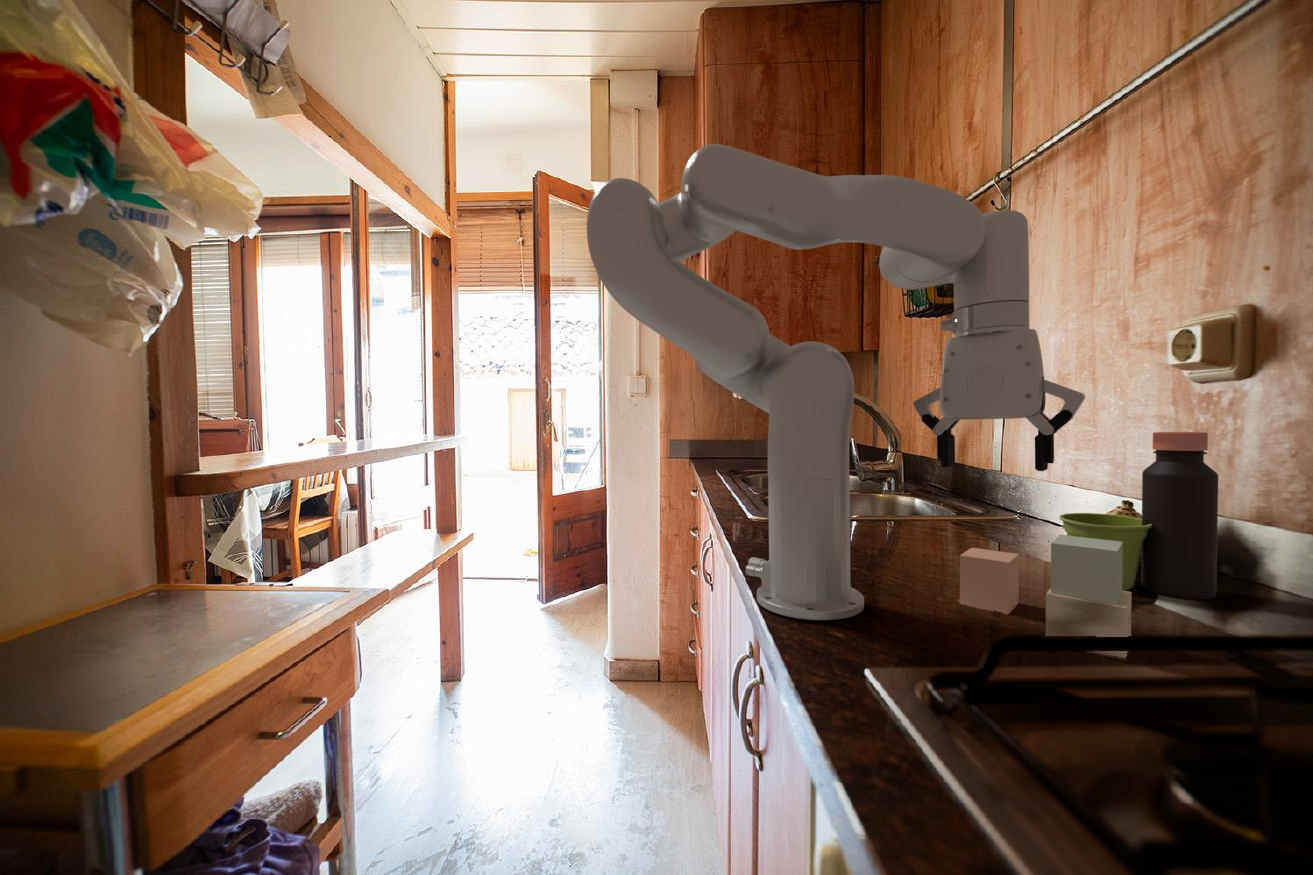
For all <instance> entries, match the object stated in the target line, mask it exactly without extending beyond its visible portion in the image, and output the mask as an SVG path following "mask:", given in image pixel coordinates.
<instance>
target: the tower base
mask: <svg viewBox="0 0 1313 875" xmlns="http://www.w3.org/2000/svg"><path fill="white" fill-rule="evenodd" d="M1046 636H1096V637H1128V636H1131V637H1132V591H1128V590H1125V591H1122V593H1121V596H1120V598H1119V601H1118V603H1117V605H1116V604H1110V603H1104V602H1098V601H1093V600H1087V599H1081V598H1076V597H1070V596H1064V595H1059V594H1053V593H1051V587H1050V588H1049V589H1048V591H1046V594H1045V637H1046ZM1086 653H1088V654H1091V653H1099V654H1103V655H1111V656H1118V657H1123V658H1126V656H1127V657H1128V655H1127V653H1129V651H1094V652H1086Z"/></svg>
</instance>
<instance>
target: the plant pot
mask: <svg viewBox="0 0 1313 875" xmlns="http://www.w3.org/2000/svg"><path fill="white" fill-rule="evenodd" d="M1058 517H1059V520H1060V521H1061V522H1062V524H1063V529H1064V531H1065V532H1066V535H1067V536H1076V537H1085V538H1094V539H1103V540H1112V541H1121V542H1123V553H1122V591H1129V590H1130V589H1133V588H1135V582H1136V578H1137V573H1138V568H1139V563H1140V557H1141V551H1142V544H1143V540H1144V539H1145V538H1146V536H1147V532H1148V528H1151V527H1152V524H1148V525H1145V526H1142V518H1138V517H1134V516H1127V515H1119V514H1109V513H1094V512H1093V513H1092V512H1072V513H1063V514H1060V515H1059V516H1058Z"/></svg>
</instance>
